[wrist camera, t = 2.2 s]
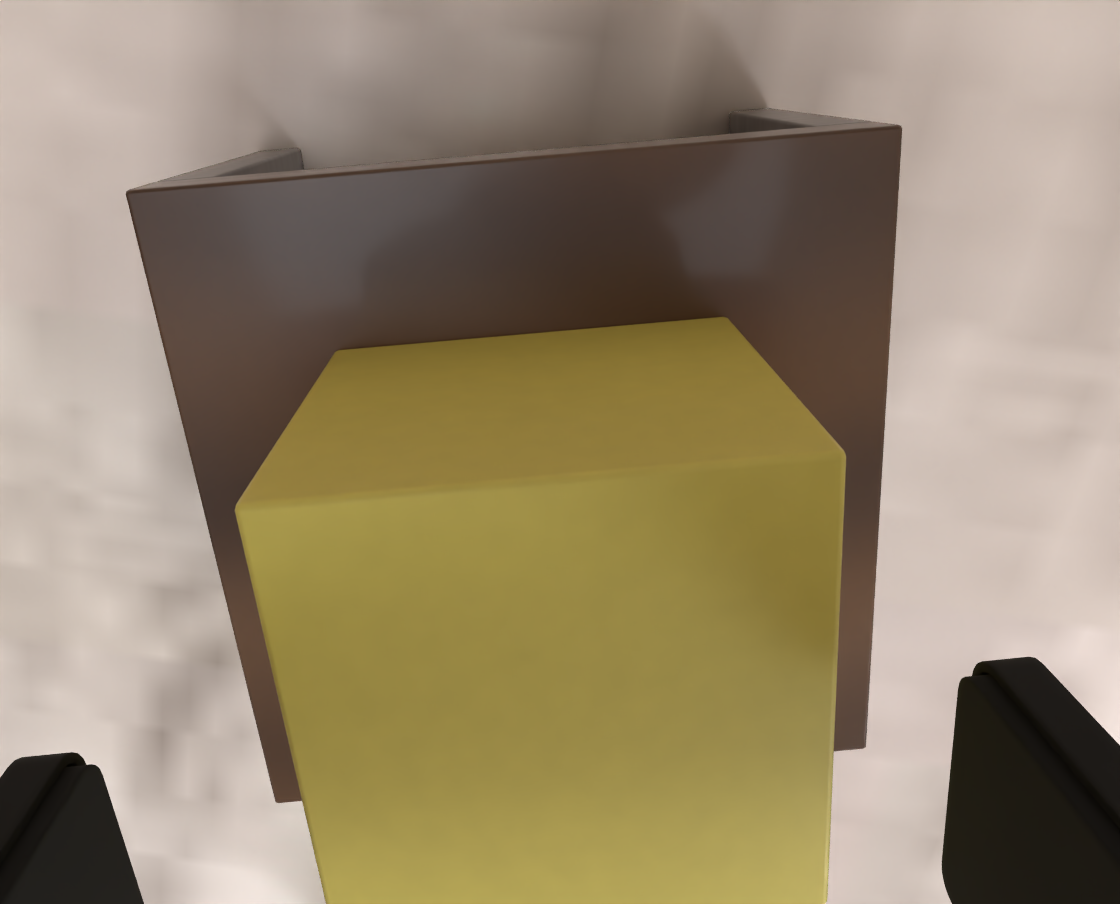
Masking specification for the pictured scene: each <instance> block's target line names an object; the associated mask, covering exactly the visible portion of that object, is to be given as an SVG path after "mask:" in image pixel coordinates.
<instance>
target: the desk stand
mask: <svg viewBox="0 0 1120 904" xmlns="http://www.w3.org/2000/svg"><path fill="white" fill-rule="evenodd" d="M901 139H902V127H901V126H900V125H895V124H887V123H880V122H871V121H864V120H857V119H849V118H841V117H833V116H825V115H817V114H810V113H802V112H794V111H786V110H778V109H771V108H767V109H755V110H743V111H732V112H730V114H729V134H722V135H710V136H698V137H686V138H674V139H663V140H651V141H639V142H627V143H615V144H603V145H591V146H580V147H568V148H556V149H544V150H532V151H520V152H508V153H497V154H485V155H473V156H461V157H449V158H437V159H426V160H414V161H402V162H390V163H378V164H366V165H354V166H343V167H331V168H319V169H307V170H304V167H303V161H302V156H301V151H300V149H298V148H291V149H280V150H268V151H259V152H255V153H252V154H249V155H245V156H242V157H239V158H235V159H232V160H228V161H225V162H222V163H218V164H215V165H212V166H208V167H205V168H201V169H198V170H195V171H191V172H188V173H185V174H181V175H178V176H174V177H171V178H168V179H164V180H161V181H158V182H154V183H151V184H147V185H144V186H140V187H137V188H134V189H130V190H128V191H126V197H127V201H128V205H129V209H130V213H131V217H132V221H133V225H134V229H135V233H136V237H137V241H138V245H139V249H140V253H141V258H142V262H143V266H144V270H145V274H146V278H147V282H148V286H149V290H150V294H151V298H152V302H153V306H154V310H155V314H156V318H157V322H158V327H159V331H160V335H161V339H162V343H163V347H164V351H165V355H166V359H167V363H168V367H169V371H170V375H171V379H172V383H173V387H174V391H175V395H176V400H177V404H178V408H179V412H180V416H181V420H182V424H183V428H184V432H185V436H186V440H187V444H188V448H189V452H190V456H191V460H192V464H193V469H194V473H195V477H196V481H197V485H198V489H199V493H200V497H201V501H202V505H203V509H204V513H205V517H206V521H207V525H208V529H209V533H210V538H211V542H212V546H213V550H214V554H215V558H216V562H217V566H218V570H219V574H220V578H221V582H222V586H223V590H224V594H225V598H226V602H227V607H228V611H229V615H230V619H231V623H232V627H233V631H234V635H235V639H236V643H237V647H238V651H239V655H240V659H241V663H242V667H243V671H244V676H245V680H246V684H247V688H248V692H249V696H250V700H251V704H252V708H253V712H254V716H255V720H256V724H257V728H258V732H259V736H260V740H261V745H262V749H263V753H264V757H265V761H266V765H267V769H268V773H269V777H270V781H271V785H272V789H273V793H274V797H275V801H276V803H283V802H294V801H302V798H301V793H300V789H299V785H298V780H297V776H296V772H295V768H294V763H293V759H292V755H291V750H290V746H289V742H288V737H287V733H286V729H285V725H284V720H283V716H282V712H281V707H280V703H279V699H278V694H277V690H276V686H275V682H274V677H273V673H272V669H271V664H270V660H269V656H268V651H267V647H266V643H265V638H264V634H263V630H262V626H261V621H260V617H259V613H258V608H257V604H256V600H255V595H254V591H253V587H252V583H251V578H250V574H249V570H248V565H247V561H246V557H245V552H244V548H243V544H242V540H241V535H240V531H239V527H238V522H237V518H236V514H235V507H236V504H237V502H238V501H239V499H240V498H241V496H242V495H243V493H244V491H245V490H246V488H247V487H248V485H249V484H250V482H251V481H252V479H253V478H254V476H255V475H256V473H257V471H258V470H259V468H260V467H261V465H262V464H263V462H264V461H265V459H266V458H267V456H268V455H269V453H270V451H271V450H272V448H273V447H274V445H275V444H276V442H277V441H278V439H279V438H280V436H281V435H282V433H283V431H284V430H285V428H286V427H287V425H288V424H289V422H290V421H291V419H292V418H293V416H294V415H295V413H296V411H297V410H298V408H299V407H300V405H301V404H302V402H303V401H304V399H305V398H306V396H307V395H308V393H309V391H310V390H311V388H312V387H313V385H314V384H315V382H316V381H317V379H318V378H319V376H320V375H321V373H322V371H323V370H324V368H325V367H326V365H327V364H328V362H329V361H330V359H331V358H332V356H333V355H334V353H335V352H336V351H338V350H347V349H359V348H370V347H382V346H393V345H405V344H416V343H428V342H439V341H451V340H462V339H474V338H485V337H497V336H508V335H520V334H531V333H543V332H554V331H566V330H577V329H589V328H600V327H612V326H623V325H635V324H646V323H658V322H669V321H681V320H693V319H704V318H716V317H726V318H728V319H729V320H730V321H731V323H732V324H733V325H734V326H735V327H736V328H737V329H738V330H739V332H740V333H741V334H742V335H743V336H744V337H745V338H746V340H747V341H748V342H749V343H750V344H751V345H752V346H753V348H754V349H755V350H756V351H757V352H758V353H759V354H760V356H761V357H762V358H763V359H764V360H765V361H766V362H767V363H768V365H769V366H770V367H771V368H772V369H773V370H774V371H775V373H776V374H777V375H778V376H779V377H780V378H781V379H782V381H783V382H784V383H785V384H786V385H787V386H788V387H789V389H790V390H791V391H792V392H793V393H794V394H795V395H796V397H797V398H798V399H799V400H800V401H801V402H802V403H803V404H804V406H805V407H806V408H807V409H808V410H809V411H810V412H811V414H812V415H813V416H814V417H815V418H816V419H817V420H818V422H819V423H820V424H821V425H822V426H823V427H824V428H825V430H826V431H827V432H828V433H829V434H830V435H831V436H832V437H833V439H834V440H835V441H836V442H837V443H838V444H839V445H840V447H841V448H842V449H843V450H844V452H845V454H846V472H845V496H844V519H843V543H842V566H841V589H840V613H839V636H838V660H837V683H836V706H835V730H834V751H842V750H853V749H863V748H865V747H866V733H867V716H868V700H869V683H870V666H871V649H872V632H873V615H874V598H875V581H876V564H877V547H878V530H879V513H880V496H881V479H882V462H883V445H884V428H885V411H886V394H887V377H888V360H889V343H890V326H891V309H892V292H893V275H894V258H895V241H896V224H897V207H898V190H899V173H900V156H901Z"/></svg>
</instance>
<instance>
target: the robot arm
mask: <svg viewBox="0 0 1120 904" xmlns="http://www.w3.org/2000/svg"><path fill="white" fill-rule="evenodd" d="M942 874H943V879H944V884H945V887H946V890H947V893H948V896H949V898H950V900H951V902H952V904H1120V745H1119V744H1118V743H1117V742H1116V741H1115V740H1114V739H1113V738H1112V737H1111V736H1110V735H1109V734H1108V733H1107V732H1106V730H1105V729H1104V728H1103V727H1102V726H1101V725H1100V724H1099V723H1098V722H1097V721H1096V720H1095V719H1094V718H1093V717H1092V716H1091V715H1090V713H1089V712H1088V711H1087V710H1086V709H1085V708H1084V707H1083V706H1082V705H1081V704H1080V703H1079V702H1078V701H1077V700H1076V699H1075V698H1074V696H1073V695H1072V694H1071V693H1070V692H1069V691H1068V690H1067V689H1066V688H1065V687H1064V686H1063V685H1062V684H1061V683H1060V682H1059V680H1058V679H1057V678H1056V677H1055V676H1054V675H1053V674H1052V673H1051V672H1050V671H1049V670H1048V669H1047V668H1046V667H1045V666H1044V665H1043V664H1042V663H1041V662H1040V661H1039V660H1037V659H1036V658H1033V657H1022V658H1012V659H1002V660H992V661H982V662H980V663H978V664H977V665H976V666H975V668H974V670H973V674H972V676H969V677H964V678H962V679H961V681H960V683H959V688H958V697H957V707H956V718H955V728H954V739H953V749H952V760H951V770H950V781H949V792H948V802H947V813H946V823H945V834H944V844H943V855H942ZM0 904H144V902H143V899H142V896H141V893H140V890H139V887H138V884H137V880H136V877H135V874H134V871H133V868H132V865H131V862H130V859H129V856H128V852H127V849H126V846H125V843H124V840H123V837H122V834H121V831H120V828H119V825H118V821H117V818H116V815H115V812H114V809H113V806H112V803H111V800H110V797H109V793H108V790H107V787H106V784H105V781H104V778H103V775H102V773H101V771H100V769H99V768H98V767H97V766H96V765H92V764H91V765H86V763H85V761H84V759H83V758H82V757H81V756H80V755H79V754H77V753H73V752H71V753H61V754H51V755H41V756H31V757H22V758H19V759H17V760H15V761H14V762H13V763H12V764H11V765H10V766H9V767H8V768H7V769H6V771H5V772H4V773H3V775H2V776H1V778H0Z"/></svg>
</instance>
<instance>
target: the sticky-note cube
mask: <svg viewBox="0 0 1120 904" xmlns="http://www.w3.org/2000/svg"><path fill="white" fill-rule="evenodd" d="M845 472H846V454H845V452H844V450H843V449H842V448H841V447H840V445H839V444H838V443H837V442H836V441H835V440H834V439H833V437H832V436H831V435H830V434H829V433H828V432H827V431H826V430H825V428H824V427H823V426H822V425H821V424H820V423H819V422H818V420H817V419H816V418H815V417H814V416H813V415H812V414H811V412H810V411H809V410H808V409H807V408H806V407H805V406H804V404H803V403H802V402H801V401H800V400H799V399H798V398H797V397H796V395H795V394H794V393H793V392H792V391H791V390H790V389H789V387H788V386H787V385H786V384H785V383H784V382H783V381H782V379H781V378H780V377H779V376H778V375H777V374H776V373H775V371H774V370H773V369H772V368H771V367H770V366H769V365H768V363H767V362H766V361H765V360H764V359H763V358H762V357H761V356H760V354H759V353H758V352H757V351H756V350H755V349H754V348H753V346H752V345H751V344H750V343H749V342H748V341H747V340H746V338H745V337H744V336H743V335H742V334H741V333H740V332H739V330H738V329H737V328H736V327H735V326H734V325H733V324H732V323H731V321H730V320H729V319H728V318H726V317H716V318H704V319H693V320H681V321H669V322H658V323H646V324H635V325H623V326H612V327H600V328H589V329H577V330H566V331H554V332H543V333H531V334H520V335H508V336H497V337H485V338H474V339H462V340H451V341H439V342H428V343H416V344H405V345H393V346H382V347H370V348H359V349H347V350H338V351H336V352H335V353H334V355H333V356H332V358H331V359H330V361H329V362H328V364H327V365H326V367H325V368H324V370H323V371H322V373H321V375H320V376H319V378H318V379H317V381H316V382H315V384H314V385H313V387H312V388H311V390H310V391H309V393H308V395H307V396H306V398H305V399H304V401H303V402H302V404H301V405H300V407H299V408H298V410H297V411H296V413H295V415H294V416H293V418H292V419H291V421H290V422H289V424H288V425H287V427H286V428H285V430H284V431H283V433H282V435H281V436H280V438H279V439H278V441H277V442H276V444H275V445H274V447H273V448H272V450H271V451H270V453H269V455H268V456H267V458H266V459H265V461H264V462H263V464H262V465H261V467H260V468H259V470H258V471H257V473H256V475H255V476H254V478H253V479H252V481H251V482H250V484H249V485H248V487H247V488H246V490H245V491H244V493H243V495H242V496H241V498H240V499H239V501H238V502H237V504H236V507H235V514H236V518H237V522H238V527H239V531H240V535H241V540H242V544H243V548H244V552H245V557H246V561H247V565H248V570H249V574H250V578H251V583H252V587H253V591H254V595H255V600H256V604H257V608H258V613H259V617H260V621H261V626H262V630H263V634H264V638H265V643H266V647H267V651H268V656H269V660H270V664H271V669H272V673H273V677H274V682H275V686H276V690H277V694H278V699H279V703H280V707H281V712H282V716H283V720H284V725H285V729H286V733H287V737H288V742H289V746H290V750H291V755H292V759H293V763H294V768H295V772H296V776H297V780H298V785H299V789H300V793H301V798H302V802H303V806H304V811H305V815H306V819H307V823H308V828H309V832H310V836H311V841H312V845H313V849H314V854H315V858H316V862H317V867H318V871H319V875H320V879H321V884H322V888H323V892H324V897H325V901H326V904H825V903H826V901H827V894H828V870H829V847H830V823H831V800H832V777H833V753H834V730H835V706H836V683H837V660H838V636H839V613H840V589H841V566H842V543H843V519H844V496H845Z"/></svg>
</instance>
